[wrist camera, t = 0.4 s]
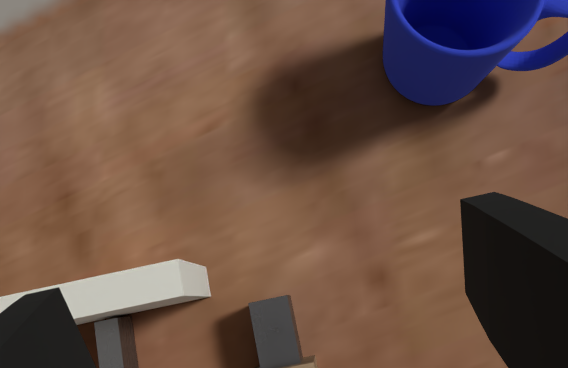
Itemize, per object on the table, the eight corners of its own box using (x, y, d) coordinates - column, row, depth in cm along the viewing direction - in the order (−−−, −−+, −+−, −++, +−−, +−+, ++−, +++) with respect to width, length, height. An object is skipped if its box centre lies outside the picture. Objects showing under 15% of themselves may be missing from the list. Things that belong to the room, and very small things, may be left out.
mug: (543, 133, 36) (623, 72, 26) (365, 113, 37) (379, 47, 28) (549, 23, 38) (626, -73, 28) (378, 7, 39) (395, -90, 29)
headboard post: (220, 355, 35) (195, 368, 28) (-45, 410, 35) (-133, 436, 28) (205, 266, 36) (178, 258, 29) (-50, 321, 37) (-136, 326, 30)
